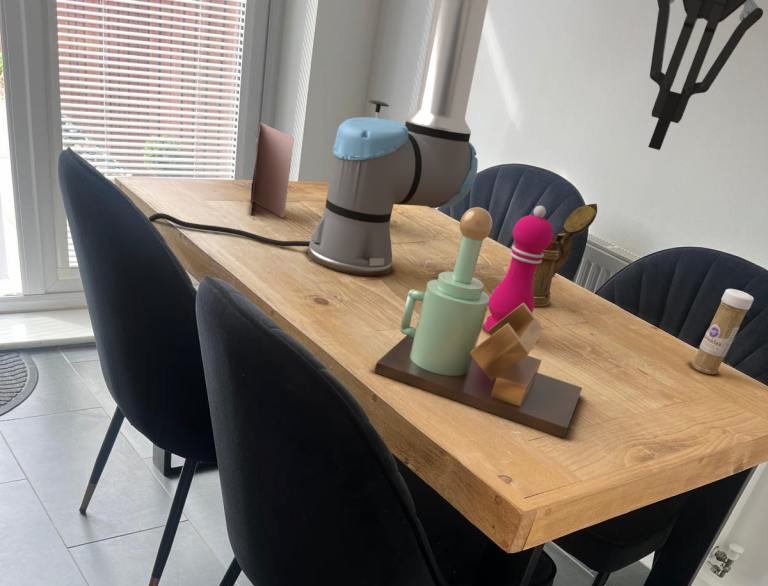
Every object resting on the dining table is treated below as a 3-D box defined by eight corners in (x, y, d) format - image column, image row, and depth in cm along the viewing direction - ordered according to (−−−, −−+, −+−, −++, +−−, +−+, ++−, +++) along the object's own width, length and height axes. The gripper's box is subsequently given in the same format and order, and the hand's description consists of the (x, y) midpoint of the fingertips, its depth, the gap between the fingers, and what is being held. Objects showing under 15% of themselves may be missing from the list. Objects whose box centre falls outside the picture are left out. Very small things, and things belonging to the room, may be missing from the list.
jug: (411, 395, 103) (357, 254, 96) (429, 375, 110) (380, 242, 103) (527, 363, 95) (477, 207, 89) (538, 343, 102) (493, 197, 95)
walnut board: (374, 372, 100) (376, 362, 99) (409, 339, 112) (411, 330, 112) (563, 438, 96) (567, 428, 95) (578, 396, 108) (582, 387, 107)
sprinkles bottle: (686, 365, 129) (721, 288, 121) (697, 362, 132) (733, 286, 124) (710, 377, 126) (748, 299, 119) (721, 373, 129) (759, 297, 122)
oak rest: (460, 386, 99) (480, 316, 93) (480, 359, 108) (499, 294, 102) (519, 407, 97) (543, 337, 92) (535, 378, 106) (557, 313, 101)
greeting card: (248, 199, 159) (255, 121, 150) (283, 206, 160) (293, 129, 152) (246, 214, 149) (254, 131, 141) (283, 221, 151) (294, 139, 143)
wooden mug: (576, 309, 142) (612, 211, 132) (516, 305, 137) (548, 202, 127) (551, 291, 149) (583, 196, 139) (493, 287, 143) (522, 187, 133)
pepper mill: (527, 332, 126) (568, 208, 115) (520, 346, 120) (562, 216, 109) (486, 319, 127) (522, 195, 116) (477, 332, 121) (514, 202, 110)
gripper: (680, -93, 84) (602, 136, 97) (799, -68, 82) (703, 164, 95) (682, -82, 90) (609, 132, 104) (793, -58, 88) (704, 158, 101)
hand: (654, 147), depth 99 cm, fingers closed
